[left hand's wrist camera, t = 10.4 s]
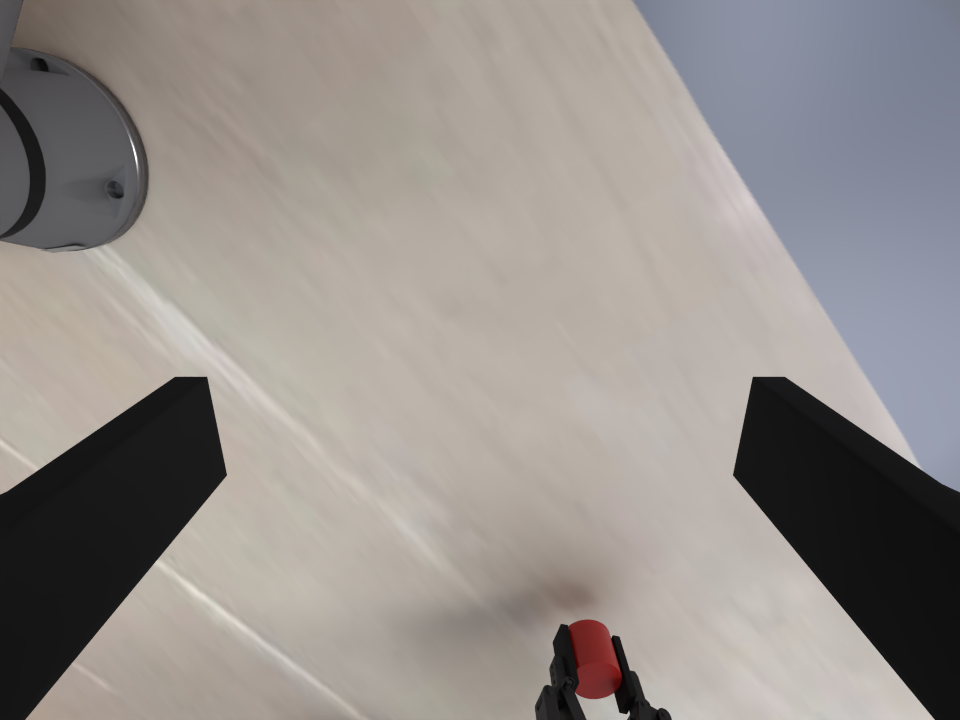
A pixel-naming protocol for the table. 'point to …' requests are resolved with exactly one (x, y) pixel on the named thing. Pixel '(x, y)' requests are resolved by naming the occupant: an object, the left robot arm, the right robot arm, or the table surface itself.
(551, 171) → the table surface
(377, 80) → the table surface
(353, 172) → the table surface
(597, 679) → the red cylinder
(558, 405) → the table surface
